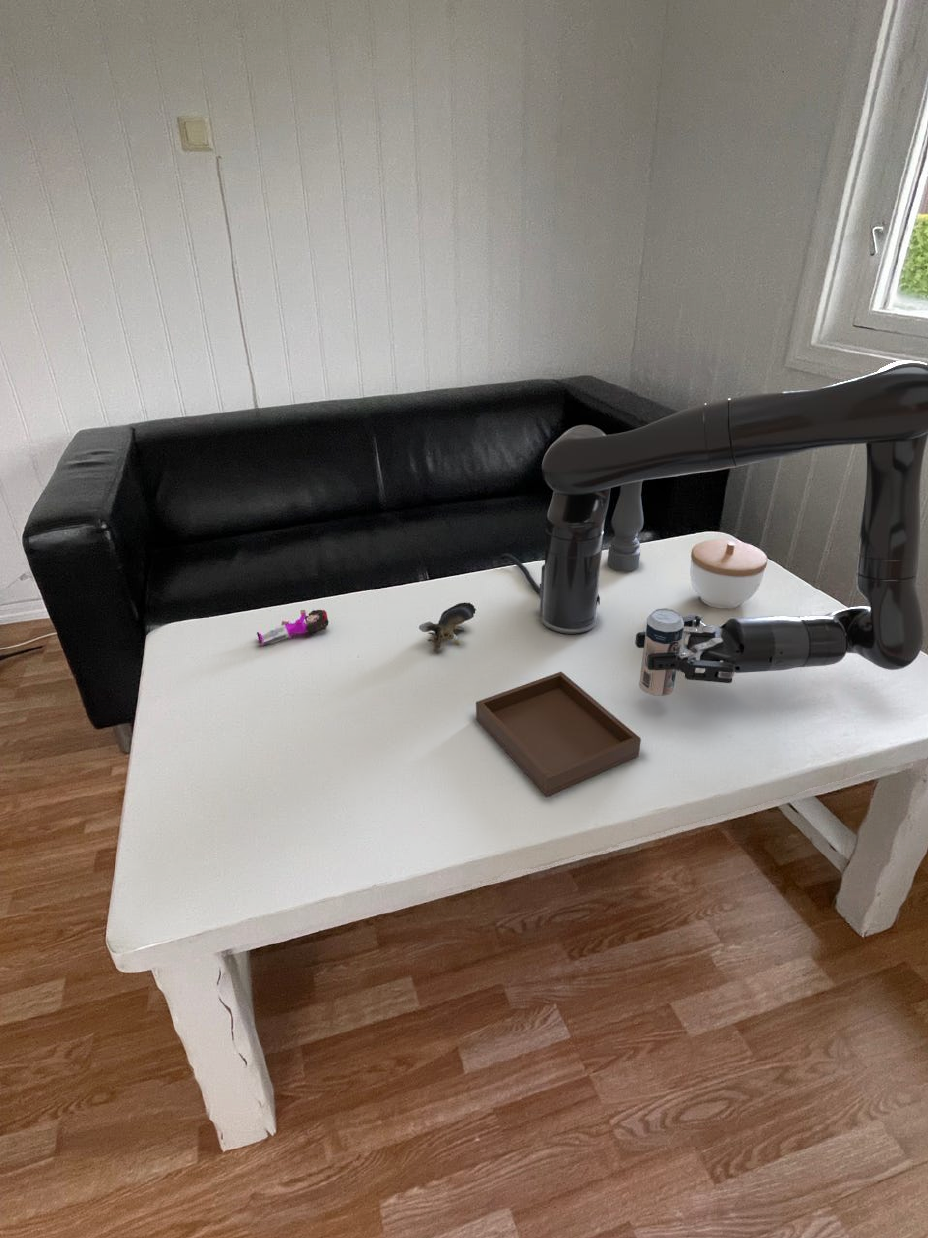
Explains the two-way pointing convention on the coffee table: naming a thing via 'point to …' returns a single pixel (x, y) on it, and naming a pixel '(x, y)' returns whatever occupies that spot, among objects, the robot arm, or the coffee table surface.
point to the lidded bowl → (726, 572)
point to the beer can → (661, 650)
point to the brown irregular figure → (449, 624)
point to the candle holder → (626, 529)
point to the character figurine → (297, 627)
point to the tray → (556, 732)
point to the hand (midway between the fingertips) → (642, 651)
